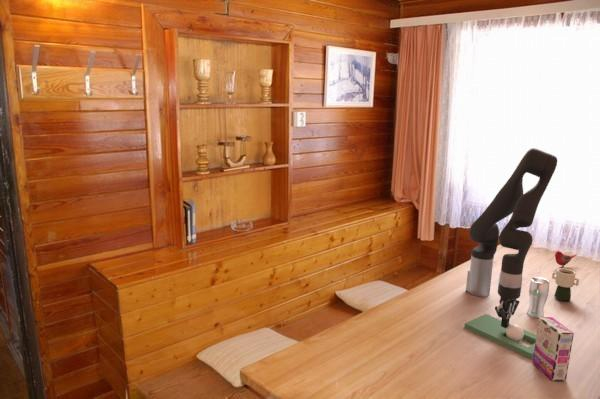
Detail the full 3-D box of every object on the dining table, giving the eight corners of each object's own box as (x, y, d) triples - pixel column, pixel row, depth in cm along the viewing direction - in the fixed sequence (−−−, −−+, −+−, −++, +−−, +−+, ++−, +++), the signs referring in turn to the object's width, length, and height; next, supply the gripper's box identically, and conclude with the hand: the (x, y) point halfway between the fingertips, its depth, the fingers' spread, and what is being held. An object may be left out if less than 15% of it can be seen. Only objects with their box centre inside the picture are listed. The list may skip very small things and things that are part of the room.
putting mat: (464, 328, 178) (464, 323, 178) (485, 318, 186) (485, 313, 186) (530, 359, 158) (531, 353, 158) (551, 346, 166) (552, 341, 166)
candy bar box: (567, 381, 146) (575, 333, 142) (552, 381, 146) (559, 333, 142) (546, 361, 157) (552, 316, 153) (531, 361, 157) (538, 316, 153)
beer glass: (547, 319, 186) (552, 284, 183) (528, 317, 188) (533, 282, 184) (542, 311, 193) (547, 277, 190) (524, 310, 194) (528, 276, 191)
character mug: (578, 301, 204) (583, 273, 201) (571, 305, 199) (576, 276, 196) (552, 292, 212) (556, 265, 209) (545, 296, 208) (549, 269, 205)
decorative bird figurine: (549, 269, 241) (552, 250, 239) (572, 264, 249) (575, 246, 246) (554, 271, 239) (557, 252, 236) (577, 266, 246) (580, 248, 244)
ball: (521, 335, 164) (513, 347, 167) (530, 331, 168) (521, 342, 171) (507, 323, 168) (499, 334, 171) (516, 319, 171) (508, 330, 174)
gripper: (510, 275, 175) (504, 318, 179) (490, 283, 167) (485, 327, 171) (529, 282, 169) (523, 326, 173) (510, 290, 162) (504, 336, 165)
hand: (504, 326), depth 172 cm, fingers closed
